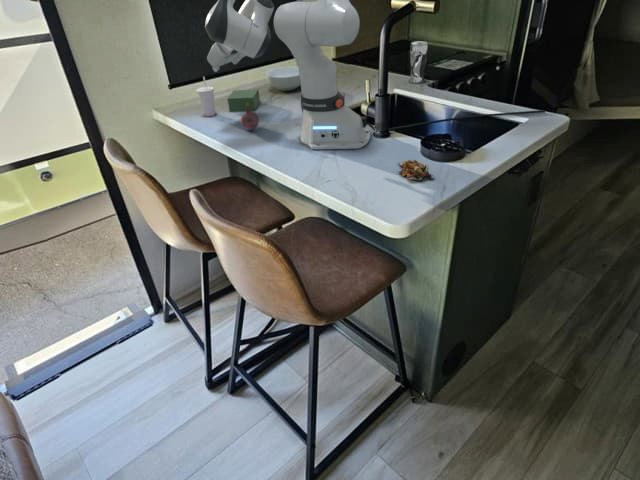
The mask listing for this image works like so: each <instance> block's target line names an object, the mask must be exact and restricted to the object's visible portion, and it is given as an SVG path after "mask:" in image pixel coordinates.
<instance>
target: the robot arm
mask: <svg viewBox="0 0 640 480" xmlns="http://www.w3.org/2000/svg"><path fill="white" fill-rule="evenodd" d="M235 2H236V0H217V1H216V3H215V4H214V5H213V6H212V7H211V9H209V12H208V13H207V15H206V18H205V21H204V24H205V25H204V28H205V32H206V33H207V36H208V37H209V38H210V40H211V41H214V43H213V44H212V46H211V48H210V50H209V52H208V54H207V56H206V60H207V62H208V63H209V65H210V66H211V67H212V70H213V72H214V73H218V72H219V71H220V70H221V66H224V65H227V64H229V63H232V64H233V65H237V64H239V62H240V61H241V60H242V59H243V58H245V57H248V58H251V59H254V60H255V59H257V58H259V57H261V56H263V55H264V53H265V52H266V50H267V49H268V47H269V45H270V43H271V40H272V35H271V34H272V33H271V29H270V26H269V23H270V20H271V18H272V15H273V12H274V10H275V4H274V3H273V1H272V0H244V1H243V3H242V5H241V6H240V8H239V10H238V11H237V10H236V9H235V8H234V4H235ZM360 25H361V21H360V17H359V13H358V11H357V9H356V8H355V7H354V5H352V3H351V1H350V0H316V1H292V2H286V3H284V4H280V6H278V7H277V9H276V11H275V12H274V15H273V29H274V32H275V35H276V36H277V38H278V39H279V40H280V41H281V42H283V44H284V45H286V47H287V48H288V49H289V51H290V53H291V55H292V56H293V58H294V60H295V63H296V65H297V66H296V67H298V69H299V75H300V82H301V85H300V89H301V94H300V108H301V109H300V110H301V113H302V126H301V127H302V128H301V133H300V141H301V143H303V144H305V145H306V146H308V147H309V148H310V149H311V150H358V149H361V148H363V147H365V146H366V145H367V144H368V143H369V142H370V140H371V131H370V130H369V129H368V128H366V127H367V126H369V127H370V128H371V129H372V130H373V131H375V129H374V128H375V127H374V125H372V123H370V122H369V121H368V117H367V116H362V115H360V114H358V113H357V112H356V111H354V110H352V108H350V107H348V106H347V105H346V103H345V100H346V99H345V98H346V93H343V94H342V93H340V92H339V88H338V87H339V85H338V69H337V65H336V63H335V62H334V61H333V60H332V59H330V58H329V57H327V55H326V54H325V53H324V51H323V49H322V47H333V48H336V47H337V48H338V47H343V46H348V45H351V44H353V42H354V41H355V40H356V38H357V37H358V35H359V31H360ZM539 113H540V114H541V113H546V110H545V109H539V110H526V111H513V112H499V113H497V112H496V113H486V114H474V115H466V116H457V117H451V118H444V119H438V120H430V121H425V122H418V123H413V124H407V125H401V126H396V127H394V126H393V127H390V128H389V129H390V131H389V132H391V131H395V130H403V129H409V128H414V127H419V126H424V125H425V126H426V125H432V124H438V123H443V122H451V121H458V120H459V121H460V120H466V119H476V118H485V117H488V118H489V117H498V116H499V117H500V116H512V115H527V114H528V115H529V114H539Z"/></svg>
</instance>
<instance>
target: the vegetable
mask: <svg viewBox="0 0 640 480" xmlns="http://www.w3.org/2000/svg"><path fill="white" fill-rule="evenodd" d="M240 123H241V125H242V126H243V127H244V128H245V129H247V130H249V131H251V132H252V131H254V130H256V128H257V127H258V125H259V124H260V116H259V115H258V114H257V113H256V112H254V111H250V110H249V105H248V103H247V104H246V111H245V113H244V114H242V115H241V117H240Z"/></svg>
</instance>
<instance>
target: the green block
mask: <svg viewBox="0 0 640 480" xmlns="http://www.w3.org/2000/svg"><path fill="white" fill-rule="evenodd" d="M260 98H261V97H260V91H259V88H258V89H255V88H254V89H233V90H232V92H231V93H230V94H229V95H228V97H227V104H228V110H229V112H246V104H247V103H248V105H249V110H250V111H252V112H254V111H256V110H257V109H258V107H259V105H260V103H261V99H260Z"/></svg>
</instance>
